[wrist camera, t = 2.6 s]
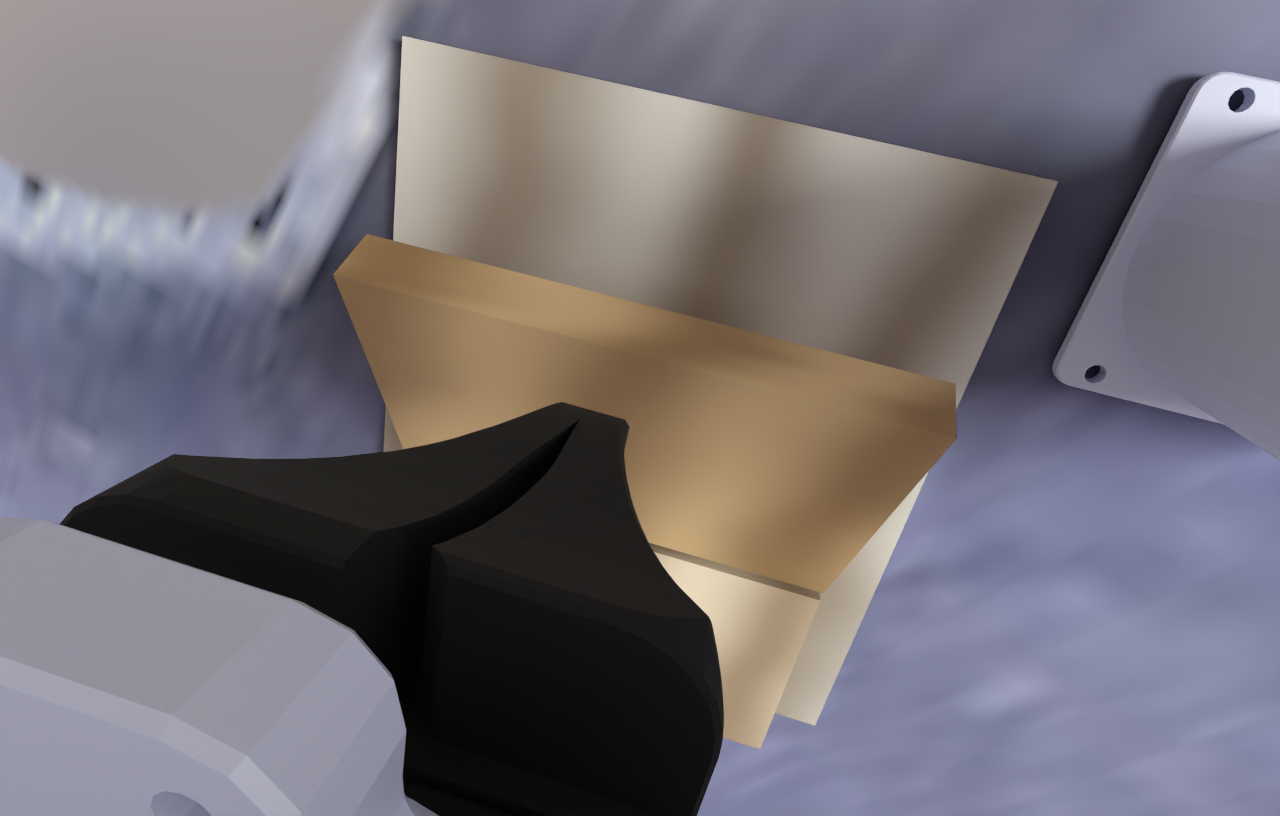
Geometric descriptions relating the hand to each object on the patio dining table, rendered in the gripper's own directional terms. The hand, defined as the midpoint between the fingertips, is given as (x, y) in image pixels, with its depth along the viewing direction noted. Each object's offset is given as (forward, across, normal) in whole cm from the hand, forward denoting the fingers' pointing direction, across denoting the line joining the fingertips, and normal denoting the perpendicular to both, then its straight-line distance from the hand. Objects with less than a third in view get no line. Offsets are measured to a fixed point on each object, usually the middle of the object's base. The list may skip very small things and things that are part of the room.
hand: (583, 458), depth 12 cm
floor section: (+9, 0, +4) cm, 10 cm away
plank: (+6, 0, +2) cm, 7 cm away
